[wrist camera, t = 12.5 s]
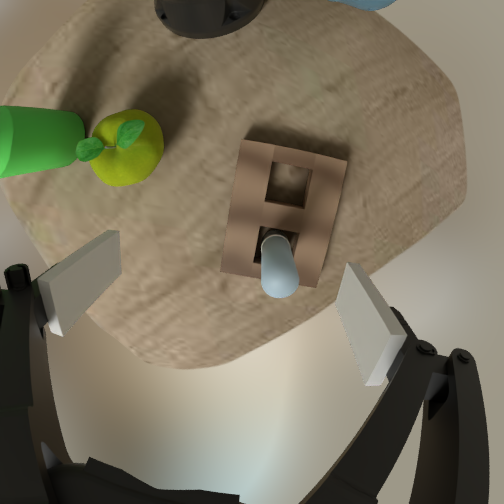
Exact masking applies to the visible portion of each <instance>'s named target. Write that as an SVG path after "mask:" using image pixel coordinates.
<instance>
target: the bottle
mask: <svg viewBox="0 0 504 504" xmlns="http://www.w3.org/2000/svg"><path fill="white" fill-rule="evenodd" d="M84 138H85V129H84V124H83V122H82V120H81V118H80V117H79V116H78V115H77V114H75V113H74V112H69V111H61V110H53V109H44V108H33V107H20V106H0V178H4V177H9V176H15V175H20V174H26V173H31V172H37V171H42V170H48V169H54V168H60V167H65V166H68V165H70V164H71V163H73V162H74V161H75V160H76V159H77V155H76V153H75V152H76V148H77V144H78V142H79V141H81V140H83V139H84Z"/></svg>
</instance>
